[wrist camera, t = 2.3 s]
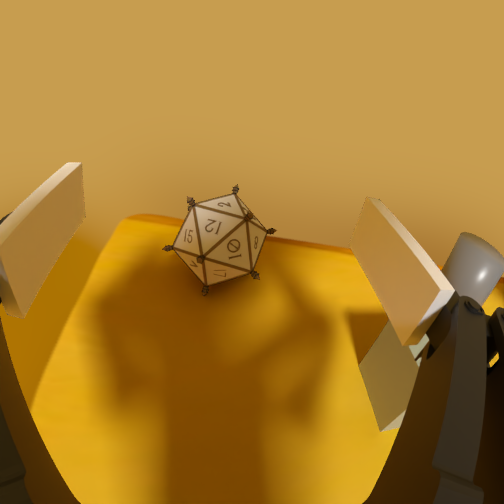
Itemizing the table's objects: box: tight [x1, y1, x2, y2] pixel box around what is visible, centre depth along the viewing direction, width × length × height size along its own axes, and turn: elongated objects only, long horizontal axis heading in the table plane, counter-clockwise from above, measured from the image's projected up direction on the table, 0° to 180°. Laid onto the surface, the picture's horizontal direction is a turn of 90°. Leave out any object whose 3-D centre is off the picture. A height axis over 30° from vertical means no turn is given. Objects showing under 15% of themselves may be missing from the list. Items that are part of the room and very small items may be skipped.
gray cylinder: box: [441, 232, 504, 307], centre depth 25 cm, size 6×6×9 cm
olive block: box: [359, 320, 429, 432], centre depth 18 cm, size 6×6×6 cm
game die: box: [162, 184, 276, 296], centre depth 26 cm, size 9×8×10 cm
